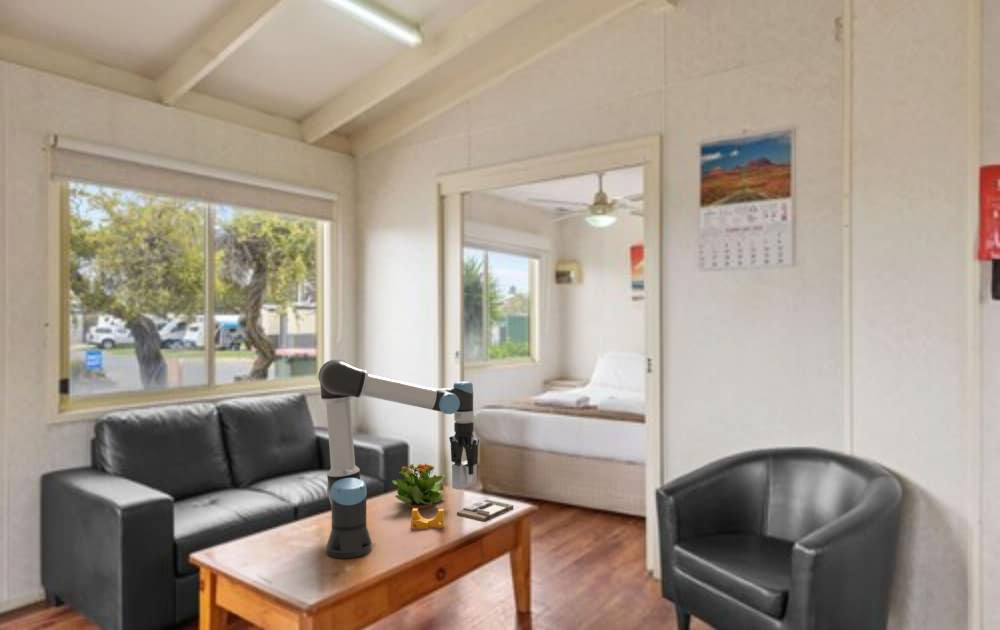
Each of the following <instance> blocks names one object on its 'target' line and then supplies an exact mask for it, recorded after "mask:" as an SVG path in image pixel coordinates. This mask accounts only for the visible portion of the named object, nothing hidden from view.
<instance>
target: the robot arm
mask: <svg viewBox="0 0 1000 630" xmlns="http://www.w3.org/2000/svg"><path fill="white" fill-rule="evenodd" d="M318 381H319V385H320V386H319V387H320V396H321V400H322V401H323V402H324V403H325V405H326V406H325V407H326V418H327V419H326V420H327V432H328V445H329V461H330V469H329V470H328V472H327V473H326V476H327V488H326V491H327V496H328V499H329V502H330V506H331V507H330V508H331V530H330V534H329V536H328V537H329V538H328V541H327V544H326V547H325V548H326V556H328V557H330V558H334V559H339V560H341V559H342V560H343V559H355V558H358V557H362V556H366V555H367V554H369V553H370V552H371V551H372V548H373V543H372V539H371V537H370V536H371V535H370V533H369V529H368V527H367V526H368V525H367V493H368V489H367V485H366V482H365V481H364V480H363V479H361V469H360V468H359V466H357V465H356V457H355V446H354V445H355V444H354V432H353V419H352V418H353V417H352V406H351V405H352V404H351V400H352V398H361V397H368V398H372V399H373V398H374V399H378V400H383V401H388V402H392V403H398V404H401V405H402V404H404V405H408V406H413V407H418V408H420V409H421V408H423V409H426V410H431V411H436V412H440V413H441V412H442V413H443V414H446V415H453V418H454V424H453V428H454V433H455V434H454V435H452V436H449V437H448V439H449V443H450V458H451V460H450V461H451V462H452V463H453V464H456V463H460V462H463V461H462V457H463V451H465V456H466V457H465V458H466V460H467V463H468V465H467V466H466V483H467V484H468V483H471V482H472V474H473V466H474V465H476V464H477V465H478V463H479V443H480V439H478V438H477V439H476V438H475V437H474V434H473V433H474V429H475V428H474V424H475V423H474V386H473V382H471V381H464V380H463V381H455V382H454V383H453V386H452V387H443V388H442V387H441V388H439V387H438V388H433V387H425V386H422V385H420V384H419V385H418V384H414V383H410V382H405V381H399V380H397V379H396V380H395V379H390V378H387V377H383V376H378V375H372V374H370V373H368V372H367V370H364V369H360V368H358V367H354V366H352V365H351V364H349V363H348V362H346V361H345V360H342V359H331V360H329V361H327V362H325V363H324V364H323V365H322V366H321V367H320V369H319V371H318Z"/></svg>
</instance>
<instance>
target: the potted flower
mask: <svg viewBox="0 0 1000 630" xmlns="http://www.w3.org/2000/svg"><path fill="white" fill-rule="evenodd" d="M434 469H435V466H433V465H430V464H427V463H424V464H421V463H419V464H418V465H417V466H415V465H414V464H413V463H411V464H409V466H408V467H407V466H406V465H405V466H402V467H401V471H399V472H398V473H399V474H401V475H403V476H404V479H403V478H402V479H398V478H397V479H396V480H395V479H394V480H391V482H392V483H393V485H394V486H397V494H396V495H395V498H396V499H398V500H399V501H401V502H402V503H403V502H404V503H406V504H408V505H409V507H410V508H412V509H413V508H416V509H418V510H419V509H420V510H421V509H422V510H423V509H426V508H430V507H431V506H433V504H436V503H437V504H438V503H439V502H441V501H442V499H443V498H444V494H443V493H441V492H439V491H444V483H443V482H440V481H441V480H442V478H443V479H444V478H446V477H447V475H446V474H442V475H436V474H435V475H433V476H431V477H430V474H431V473H433V470H434ZM439 482H440V483H439Z"/></svg>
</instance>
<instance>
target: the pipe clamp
mask: <svg viewBox="0 0 1000 630" xmlns="http://www.w3.org/2000/svg"><path fill="white" fill-rule="evenodd" d="M443 526H445V509H444V508H438V509H437V514H436V515H435V516H434V517H433V518H425V517H423V516H422V515H421V514H420V511H419V509H416V508H412V510H411V519H410V529H412V530H414V529H415V530H416V529H420V530H423V529H424V530H428V529H429V528H444V527H443Z"/></svg>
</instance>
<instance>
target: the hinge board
mask: <svg viewBox="0 0 1000 630" xmlns="http://www.w3.org/2000/svg"><path fill="white" fill-rule="evenodd" d="M507 504H508V507H507V508H505V509H503V510H501V511H498V512H496V513H494V514H491V515H489V516H488V515H484V514H480V513H477V509H481V510H484V509H486V508H489V507H491V506H493V505H495V500H490V499H485V500H481V501H478V502H475V503H473V504H470V505H468V506H465V507H463V508H462V509H460V510H458V511H456V515H457V516H460V517H464V516H465V517H466V518H469V519H474V520H477V521H482V522H486V521H488V520H490V519H493V518H495V517H496V516H499V515H501V514H504V513H506V512H508V511H510V510H513V509H514V505H513V504H509V503H507ZM465 517H464V518H465Z"/></svg>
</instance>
